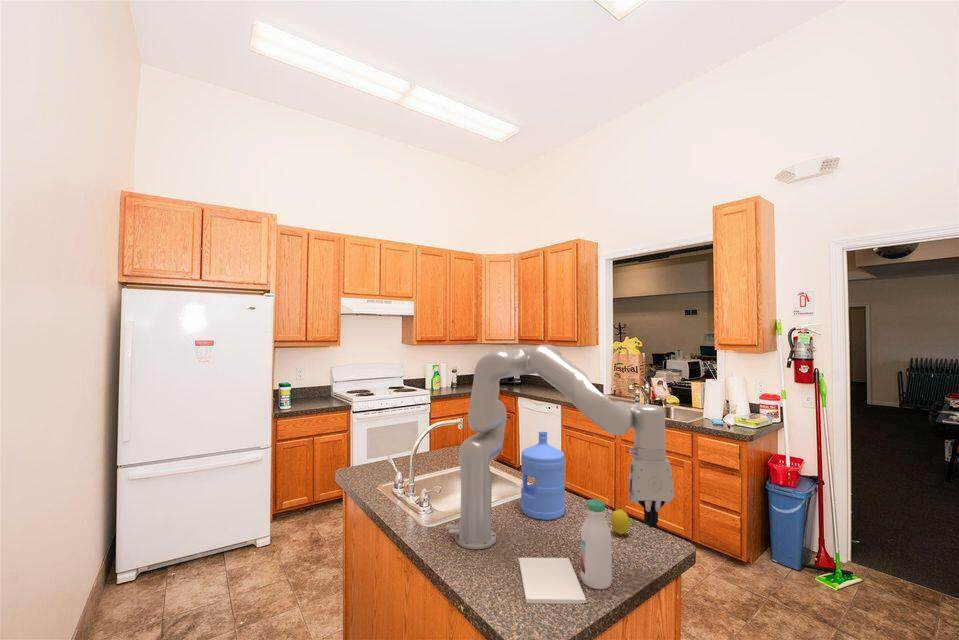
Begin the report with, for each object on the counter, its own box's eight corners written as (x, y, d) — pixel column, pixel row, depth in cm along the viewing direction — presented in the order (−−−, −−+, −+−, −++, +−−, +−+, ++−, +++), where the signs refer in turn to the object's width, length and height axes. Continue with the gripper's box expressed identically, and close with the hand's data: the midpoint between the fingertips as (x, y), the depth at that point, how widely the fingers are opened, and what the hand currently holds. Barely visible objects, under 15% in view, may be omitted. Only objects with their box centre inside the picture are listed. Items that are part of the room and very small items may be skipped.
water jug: (563, 504, 153) (563, 428, 154) (566, 522, 137) (566, 438, 139) (521, 501, 155) (522, 427, 156) (519, 519, 140) (520, 436, 141)
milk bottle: (616, 580, 105) (616, 501, 106) (603, 594, 99) (603, 510, 100) (589, 569, 110) (589, 493, 111) (575, 581, 104) (575, 502, 105)
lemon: (621, 529, 133) (621, 504, 133) (633, 537, 128) (633, 511, 128) (607, 532, 131) (607, 506, 131) (619, 540, 126) (619, 513, 126)
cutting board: (526, 603, 95) (526, 599, 95) (518, 561, 113) (518, 557, 113) (585, 604, 95) (585, 599, 95) (568, 561, 113) (568, 558, 113)
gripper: (626, 457, 102) (627, 532, 101) (685, 457, 102) (687, 532, 101) (616, 449, 110) (617, 519, 109) (671, 449, 110) (673, 518, 109)
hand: (651, 525), depth 105 cm, fingers closed
